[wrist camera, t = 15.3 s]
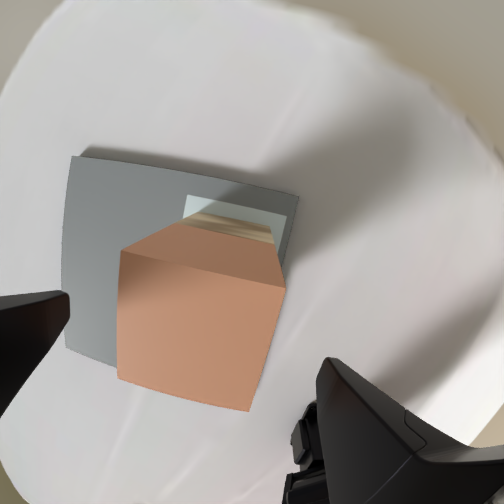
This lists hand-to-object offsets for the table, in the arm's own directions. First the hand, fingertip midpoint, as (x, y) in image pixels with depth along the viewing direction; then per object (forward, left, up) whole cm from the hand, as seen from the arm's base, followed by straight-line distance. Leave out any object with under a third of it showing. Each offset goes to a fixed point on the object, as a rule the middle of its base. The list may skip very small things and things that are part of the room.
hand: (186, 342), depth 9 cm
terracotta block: (0, 0, -6) cm, 6 cm away
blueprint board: (+5, +4, -13) cm, 14 cm away
